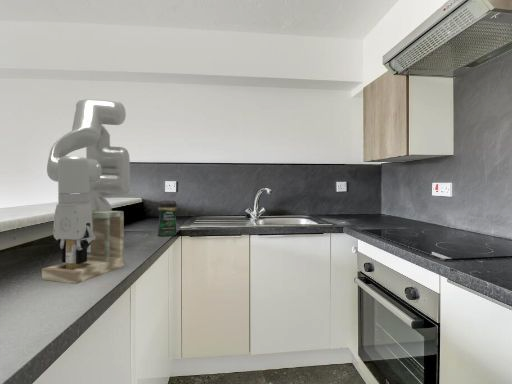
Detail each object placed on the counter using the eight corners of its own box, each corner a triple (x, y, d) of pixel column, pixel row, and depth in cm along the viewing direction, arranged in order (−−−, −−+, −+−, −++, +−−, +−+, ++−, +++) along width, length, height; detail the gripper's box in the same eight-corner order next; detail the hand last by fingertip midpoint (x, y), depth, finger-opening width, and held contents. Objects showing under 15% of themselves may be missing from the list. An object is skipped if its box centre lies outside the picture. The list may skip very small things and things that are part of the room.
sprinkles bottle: (63, 272, 84) (62, 226, 84) (81, 269, 87) (80, 225, 87) (67, 276, 81) (67, 228, 81) (86, 272, 84) (85, 226, 84)
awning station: (94, 263, 98) (93, 210, 98) (123, 266, 95) (123, 211, 94) (41, 279, 81) (41, 215, 80) (75, 283, 78) (75, 216, 77)
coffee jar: (158, 237, 149) (158, 201, 149) (157, 234, 156) (157, 200, 156) (177, 235, 152) (177, 200, 152) (176, 233, 160) (176, 200, 159)
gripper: (39, 199, 82) (39, 263, 83) (86, 200, 78) (87, 268, 78) (63, 198, 90) (63, 257, 90) (107, 199, 85) (108, 261, 85)
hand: (74, 261), depth 84 cm, fingers closed on sprinkles bottle, 4 cm apart
